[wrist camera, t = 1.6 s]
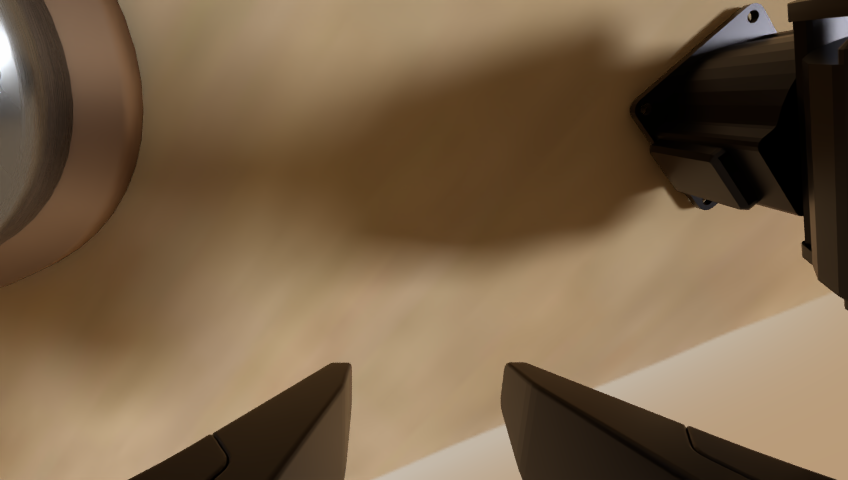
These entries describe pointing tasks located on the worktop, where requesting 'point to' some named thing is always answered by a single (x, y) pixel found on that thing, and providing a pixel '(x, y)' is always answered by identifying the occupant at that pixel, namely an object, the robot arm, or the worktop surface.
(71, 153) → the stand base
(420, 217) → the worktop surface
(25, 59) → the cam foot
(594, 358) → the worktop surface
